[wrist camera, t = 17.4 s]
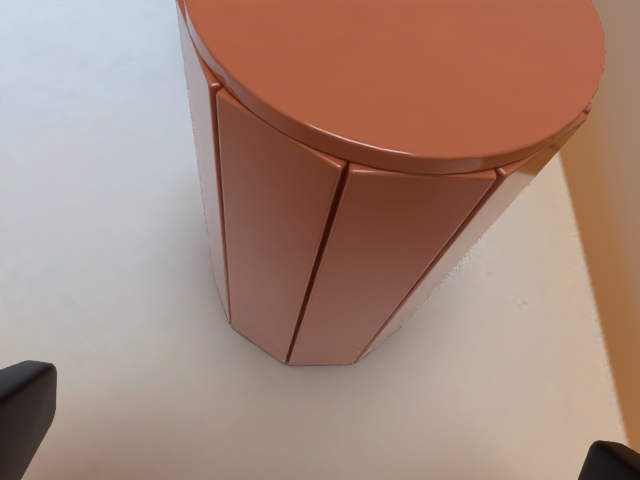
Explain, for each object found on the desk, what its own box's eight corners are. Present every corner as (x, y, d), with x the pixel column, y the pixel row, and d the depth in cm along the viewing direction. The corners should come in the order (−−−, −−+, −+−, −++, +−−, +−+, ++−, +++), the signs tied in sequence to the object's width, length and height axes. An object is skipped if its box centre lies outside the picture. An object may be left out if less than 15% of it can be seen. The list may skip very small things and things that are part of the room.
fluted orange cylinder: (251, 400, 15) (265, 223, 6) (193, 208, 18) (136, -127, 8) (444, 331, 17) (700, 112, 8) (363, 167, 20) (473, -141, 10)
